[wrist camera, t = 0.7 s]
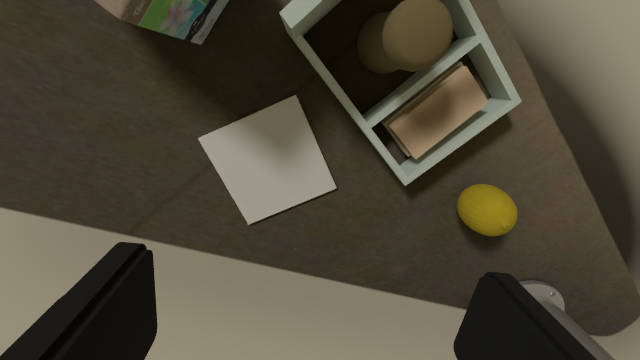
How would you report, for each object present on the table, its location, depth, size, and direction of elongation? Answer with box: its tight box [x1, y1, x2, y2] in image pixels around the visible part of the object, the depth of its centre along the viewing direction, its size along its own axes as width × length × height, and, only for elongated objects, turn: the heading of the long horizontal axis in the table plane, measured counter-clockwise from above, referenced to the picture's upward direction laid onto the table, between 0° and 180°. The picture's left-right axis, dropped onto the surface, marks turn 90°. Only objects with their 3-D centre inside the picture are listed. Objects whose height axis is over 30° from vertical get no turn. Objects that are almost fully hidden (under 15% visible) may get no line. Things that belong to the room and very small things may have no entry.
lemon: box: [457, 184, 518, 236], centre depth 35 cm, size 6×6×8 cm
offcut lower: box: [380, 62, 464, 157], centre depth 34 cm, size 5×10×2 cm, turn 130°
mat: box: [198, 95, 337, 225], centre depth 35 cm, size 12×12×1 cm
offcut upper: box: [386, 66, 489, 159], centre depth 32 cm, size 5×9×2 cm, turn 131°
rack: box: [279, 0, 522, 186], centre depth 27 cm, size 20×15×12 cm
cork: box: [356, 0, 453, 74], centre depth 26 cm, size 6×6×11 cm
